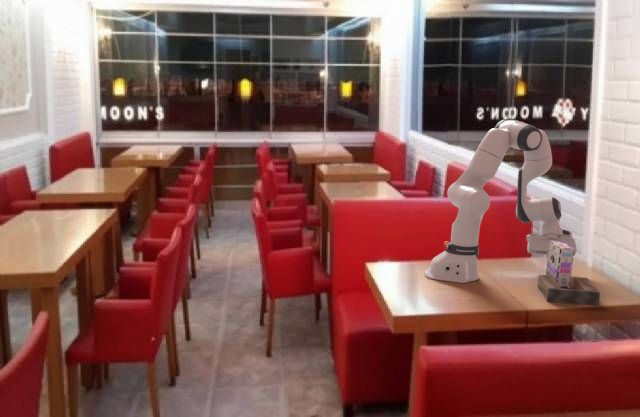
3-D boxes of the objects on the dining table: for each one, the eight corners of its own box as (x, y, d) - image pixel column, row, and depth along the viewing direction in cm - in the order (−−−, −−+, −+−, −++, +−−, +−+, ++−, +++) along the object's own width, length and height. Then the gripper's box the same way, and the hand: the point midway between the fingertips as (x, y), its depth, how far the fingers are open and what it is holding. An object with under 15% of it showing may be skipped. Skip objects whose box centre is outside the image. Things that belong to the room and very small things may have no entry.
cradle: (547, 301, 255) (548, 288, 254) (537, 286, 273) (538, 274, 272) (598, 305, 253) (600, 292, 252) (585, 289, 271) (586, 278, 270)
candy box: (570, 288, 273) (574, 248, 269) (555, 287, 273) (560, 248, 269) (558, 278, 286) (563, 240, 283) (544, 277, 286) (549, 239, 283)
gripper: (527, 229, 296) (529, 257, 288) (576, 232, 293) (579, 260, 286) (524, 237, 301) (526, 264, 293) (572, 240, 299) (575, 267, 291)
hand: (552, 262), depth 289 cm, fingers closed
